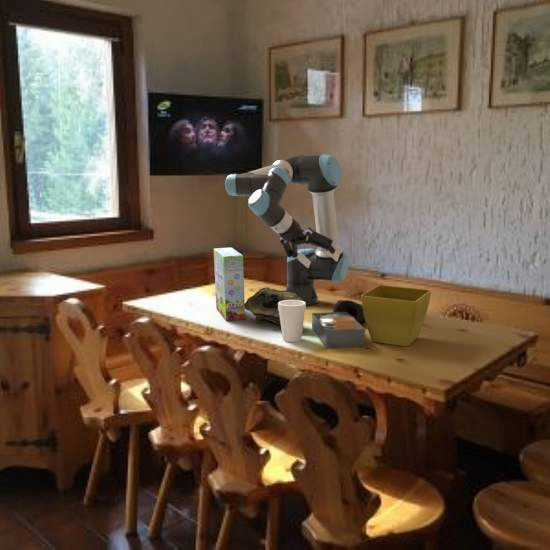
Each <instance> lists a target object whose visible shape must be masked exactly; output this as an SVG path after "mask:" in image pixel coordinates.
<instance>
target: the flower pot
mask: <svg viewBox="0 0 550 550" xmlns="http://www.w3.org/2000/svg"><path fill="white" fill-rule="evenodd" d="M431 295H432V290H431V289H425V288H413V287H404V286H396V285H386V284H385V285H384V284H379V285H376V286H375V287H373V288H371V289H369V290H368V291H365V292H364V293H362V294H361V295H360V298H361V305H362V306H363V312H364V317H365V321H364V322H365V324H366V327H367V332H368V333H369V337H370V340H371V341H372V343H373V342H374V343H380V344H386V345H392V346H400V347H408V346H410V345H411V344H412V343H413V342H415V340H416V339H418V338H419V336H420V333H421V330H422V328H423V325H424V321H425V319H426V315H427V312H428V309H429V305H430V301H431V300H430V299H431Z"/></svg>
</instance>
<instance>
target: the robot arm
mask: <svg viewBox="0 0 550 550" xmlns="http://www.w3.org/2000/svg"><path fill="white" fill-rule="evenodd" d="M341 180H342V167H341V164H340V162H339V160H338V158H336V156H334V155H330V154H324V153H322V154H298V155H296V154H295V155H292V156H289V157H285V158H282V159H279V160H276V161H275V162H274V163H272V165H268V166H264V167H261V168H258V169H255V170H251V171H248V172H245V173H240V174H239V173H231V174H229V175H227V177H226V178H225V181H224V187H225V191H226V193H227V194H228V195H229V196H232V197H233V196H235V197H249V198H248V200H247V201H248V202H247V205H248V208H249V209H250V210H251V211H252V212H253V214H254V215H256V216H257V217H258V218H259V219H260V220H262V221H263V222H264V223H265V224H266V225H267V226H268V227H270V229H271V230H273V231H274V233H276V234H277V235H278V236H279V237H280V239H279V243H280V244H281V245H282V247H283V249H284V251H285V253H286V256H287V258H286V260H287V261H286V268H287V269H286V270H287V271H286V277H287V279H286V280H287V284H286V288H285V290H284V291H286V290H287V291H291V292H295V293H296V295H297V296H300V297H301V298H302V301H304V302H305V303H306V306H307V307H308V306H313V305H316V304H318V303H319V296H318V293H317V289H316V286H315V281H321V282H323V281H324V282H332V283H334V282H336V283H337V282H338V283H339V282H343V281H344V279H345V278H346V276H347V274H348V271H349V266H350V258H349V255H348V254H346V253H344V250H343V247H342V246H340V243H339V236H338V235H339V234H338V225H337V224H338V223H337V214H336V202H335V193H334V192H335V191H336V190H337V188H338V185H340V183H341ZM288 185H302V186H304V185H305V186H307V191H308V193H310V194H311V196H312V205H313V206H312V207H313V213H314V221H315V229H316V230H313V229H312V228H311V227H307V229H306V230H304V229H303V228H301V225H300V223H299V222H298V221H297V220H296V219H294V218H293V216H292V215H290V214H289V212H287V211H286V210H285V209H284V208H283V207H282V206H281V202H282V200H283V197H284V194H285V193H286V190H287V187H288ZM290 244H291V245H290ZM304 244H306V245H312V246H315V247H317V248H316V249H315V248H300V249H298V246H300V245H304Z"/></svg>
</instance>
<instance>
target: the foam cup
mask: <svg viewBox="0 0 550 550" xmlns="http://www.w3.org/2000/svg"><path fill="white" fill-rule="evenodd" d="M278 310H279V315H280V322H281V325H280V327H281V335H282V340H283V341H284V342H287V343H297V342H300V341H302V336H303V329H304V328H303V327H304V322H305V313H306V310H307V307H306V303H305V302H304V301H300V300H284V301H280V302H278Z"/></svg>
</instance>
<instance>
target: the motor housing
mask: <svg viewBox="0 0 550 550" xmlns="http://www.w3.org/2000/svg"><path fill="white" fill-rule="evenodd" d="M311 329H312V331H313V332H314V334H315V335H316V336H317V338H318V339H319V341H320V342H321V343H322V344H323V346H324V348H326V349H344V348H365V346H366V342H365V341H366V329H365V328H364V327H363V326H362V325H361V324H360V323H358V322H357V321H356V320H355V318H354V317H352V316H351V315H350V314H349V313H348V312H334V311H331V312H330V311H329V312H311Z"/></svg>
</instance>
